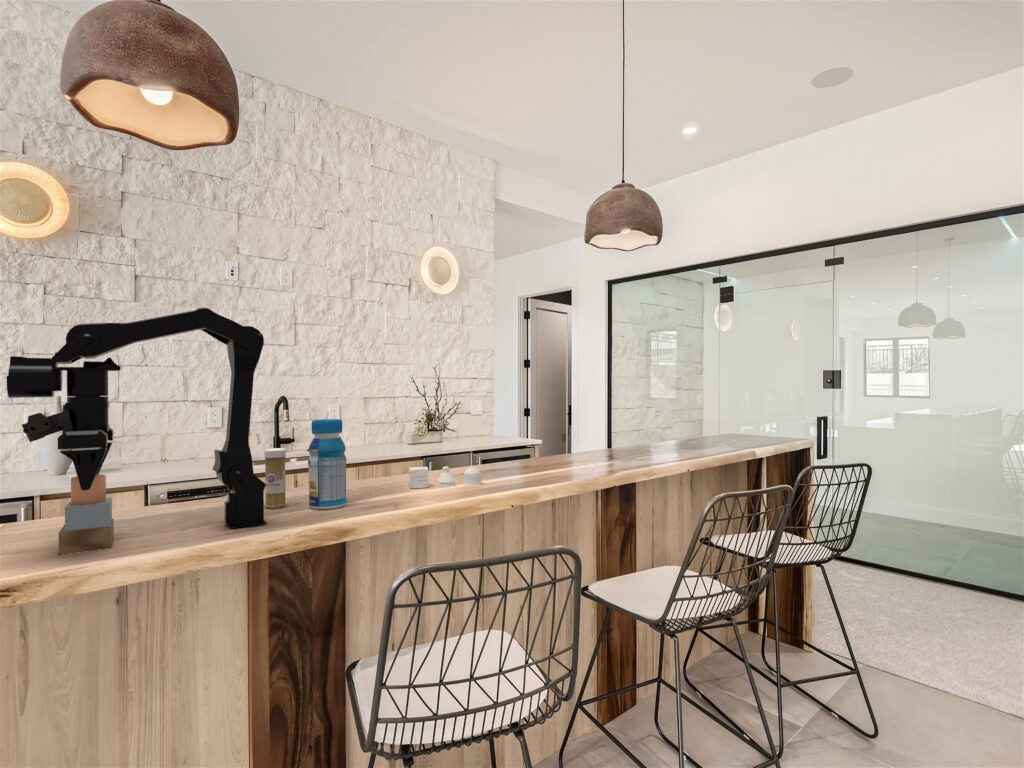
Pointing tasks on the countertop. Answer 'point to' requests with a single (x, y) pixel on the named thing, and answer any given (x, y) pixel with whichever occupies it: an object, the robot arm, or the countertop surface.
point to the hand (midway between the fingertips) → (88, 486)
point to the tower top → (88, 515)
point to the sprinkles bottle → (275, 477)
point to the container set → (441, 477)
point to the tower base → (86, 539)
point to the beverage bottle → (327, 465)
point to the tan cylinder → (88, 491)
